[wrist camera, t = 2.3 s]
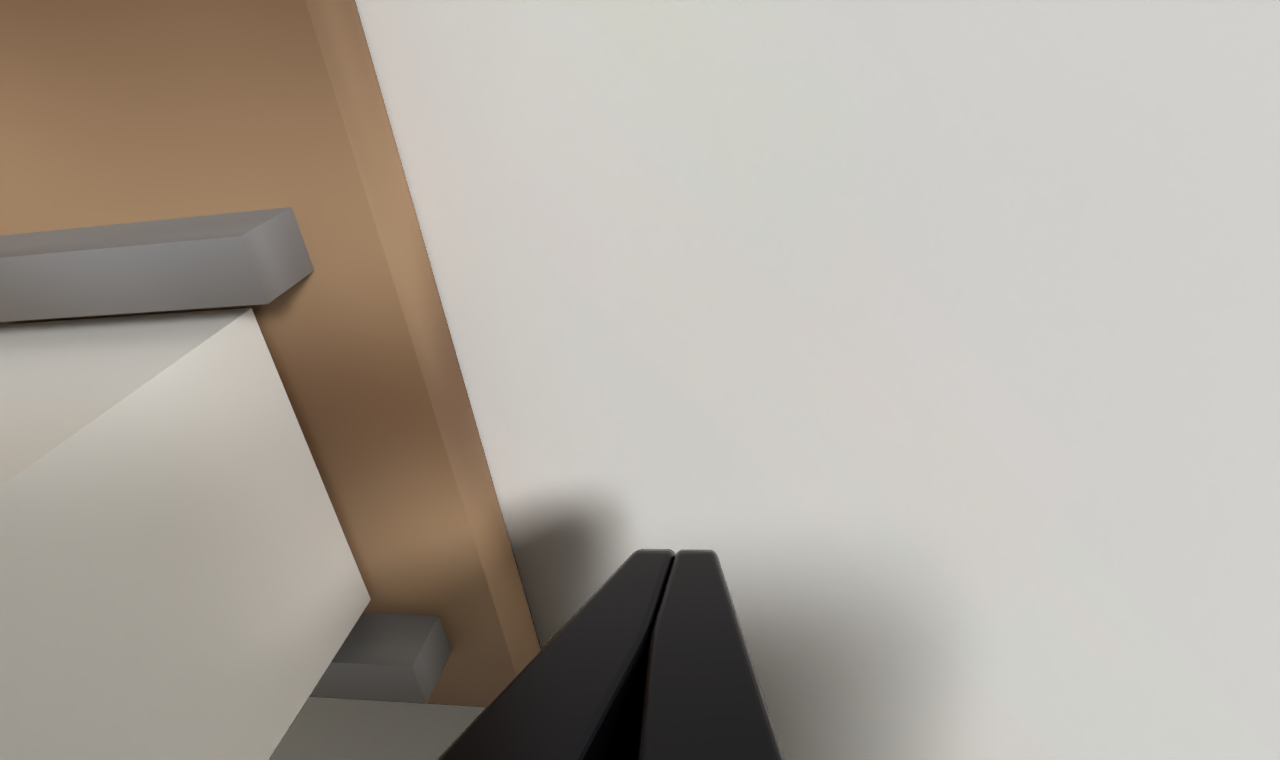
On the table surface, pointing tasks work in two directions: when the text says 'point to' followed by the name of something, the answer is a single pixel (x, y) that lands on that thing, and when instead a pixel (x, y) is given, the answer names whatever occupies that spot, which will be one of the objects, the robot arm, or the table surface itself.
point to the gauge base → (272, 284)
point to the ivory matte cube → (159, 543)
